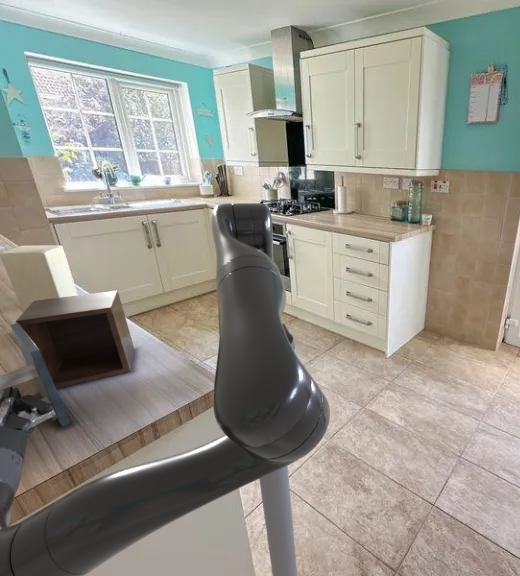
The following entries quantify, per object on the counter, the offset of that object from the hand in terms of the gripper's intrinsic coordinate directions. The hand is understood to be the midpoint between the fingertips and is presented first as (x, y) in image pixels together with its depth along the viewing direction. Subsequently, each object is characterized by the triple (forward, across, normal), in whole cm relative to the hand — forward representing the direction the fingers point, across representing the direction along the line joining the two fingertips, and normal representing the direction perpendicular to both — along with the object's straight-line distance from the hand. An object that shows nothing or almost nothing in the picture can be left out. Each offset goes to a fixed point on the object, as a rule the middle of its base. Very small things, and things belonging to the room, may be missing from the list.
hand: (0, 394), depth 50 cm
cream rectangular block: (+37, +4, -8) cm, 38 cm away
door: (+2, +1, -7) cm, 8 cm away
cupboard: (+13, +10, -8) cm, 18 cm away
